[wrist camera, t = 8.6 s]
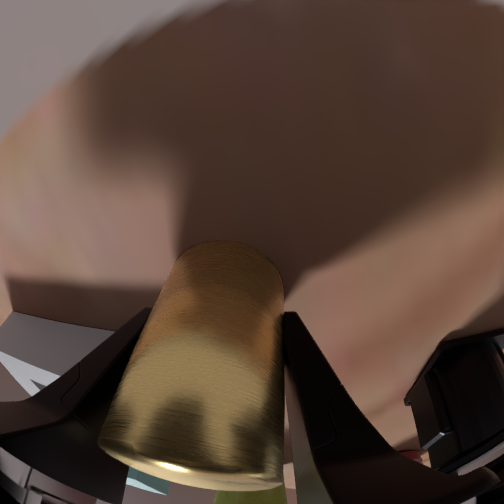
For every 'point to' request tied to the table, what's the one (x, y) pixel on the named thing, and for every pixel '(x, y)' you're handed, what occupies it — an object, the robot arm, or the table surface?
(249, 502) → the plant pot
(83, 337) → the jig
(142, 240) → the table surface
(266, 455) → the brass cylinder
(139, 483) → the teal block
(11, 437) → the robot arm
